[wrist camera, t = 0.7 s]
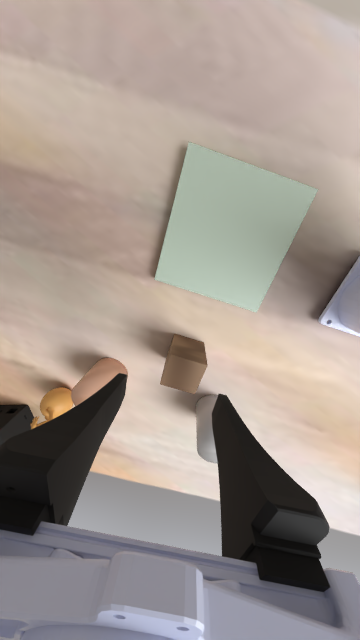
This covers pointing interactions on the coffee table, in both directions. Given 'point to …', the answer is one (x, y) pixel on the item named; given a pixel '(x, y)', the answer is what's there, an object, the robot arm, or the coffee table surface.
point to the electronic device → (14, 421)
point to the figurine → (54, 405)
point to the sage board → (230, 227)
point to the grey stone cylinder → (205, 428)
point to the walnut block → (184, 364)
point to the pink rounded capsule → (96, 379)
